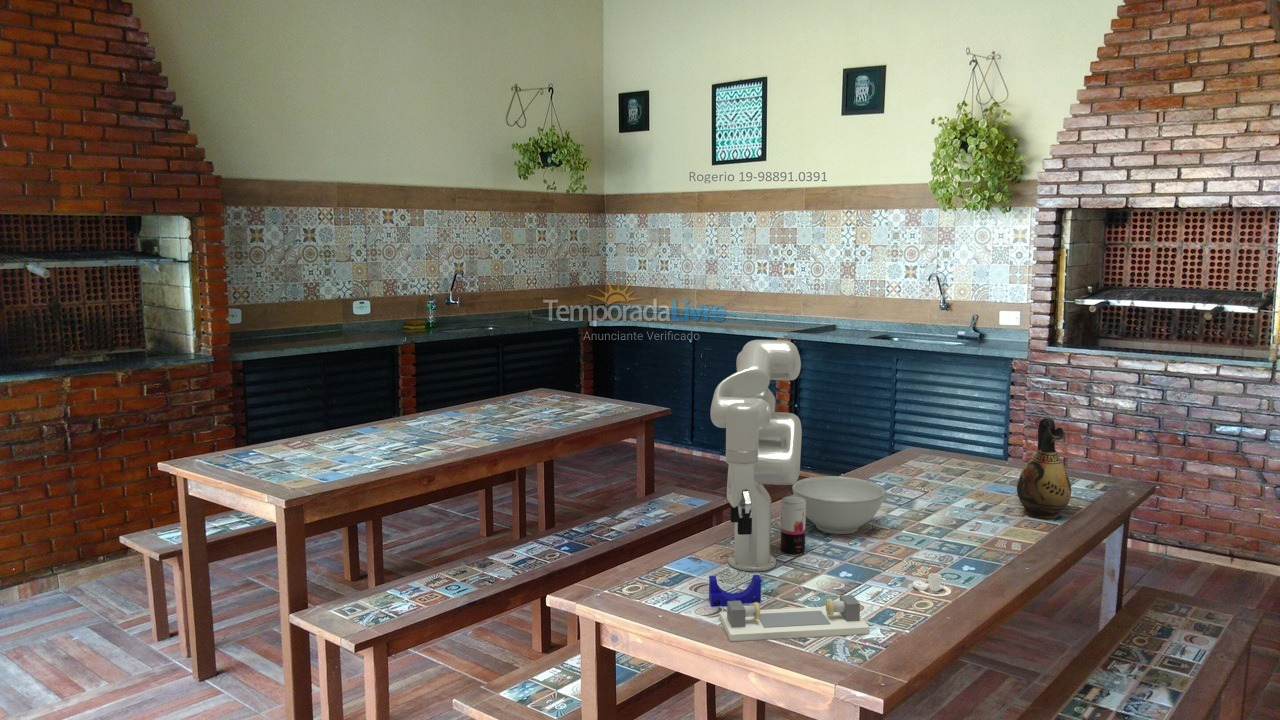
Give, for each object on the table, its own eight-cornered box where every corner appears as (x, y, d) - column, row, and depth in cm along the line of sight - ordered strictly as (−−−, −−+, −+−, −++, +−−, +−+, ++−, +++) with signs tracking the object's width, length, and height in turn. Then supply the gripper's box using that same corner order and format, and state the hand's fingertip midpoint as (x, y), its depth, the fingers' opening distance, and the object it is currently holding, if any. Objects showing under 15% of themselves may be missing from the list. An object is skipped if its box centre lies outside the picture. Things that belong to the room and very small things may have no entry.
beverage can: (804, 557, 252) (805, 503, 249) (779, 555, 253) (780, 502, 251) (805, 549, 258) (806, 496, 256) (781, 547, 259) (782, 495, 257)
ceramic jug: (1078, 522, 280) (1085, 425, 276) (1026, 522, 281) (1032, 425, 276) (1054, 505, 297) (1060, 413, 293) (1006, 505, 297) (1011, 413, 293)
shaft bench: (719, 618, 213) (719, 594, 212) (850, 611, 216) (851, 587, 216) (730, 641, 201) (730, 615, 200) (869, 633, 205) (870, 608, 204)
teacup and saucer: (908, 590, 230) (908, 574, 229) (924, 582, 235) (925, 566, 235) (941, 600, 223) (941, 584, 223) (957, 591, 229) (957, 575, 228)
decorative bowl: (876, 515, 288) (877, 477, 286) (890, 544, 262) (892, 502, 260) (788, 512, 291) (789, 474, 289) (794, 541, 264) (795, 500, 263)
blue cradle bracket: (711, 607, 219) (711, 582, 219) (708, 599, 224) (709, 575, 223) (761, 606, 220) (762, 581, 219) (758, 598, 224) (758, 574, 224)
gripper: (720, 448, 224) (719, 517, 226) (732, 464, 207) (731, 539, 209) (751, 448, 225) (749, 517, 227) (765, 464, 208) (764, 539, 210)
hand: (740, 528), depth 218 cm, fingers open, 9 cm apart
